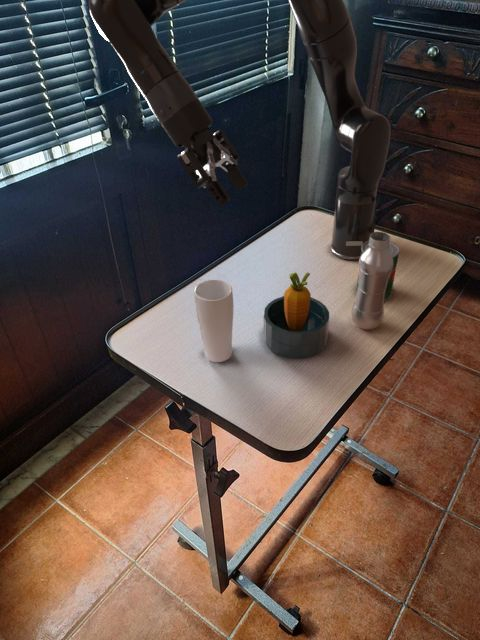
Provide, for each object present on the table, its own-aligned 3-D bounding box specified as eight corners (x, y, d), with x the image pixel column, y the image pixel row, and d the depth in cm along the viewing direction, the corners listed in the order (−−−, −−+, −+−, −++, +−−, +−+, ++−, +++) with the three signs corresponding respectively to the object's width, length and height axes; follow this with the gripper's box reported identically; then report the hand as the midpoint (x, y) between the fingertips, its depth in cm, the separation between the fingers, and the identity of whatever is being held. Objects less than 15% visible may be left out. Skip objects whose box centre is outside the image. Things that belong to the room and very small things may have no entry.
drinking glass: (204, 369, 96) (197, 303, 87) (197, 346, 101) (190, 282, 92) (239, 362, 98) (236, 297, 88) (231, 340, 103) (227, 276, 93)
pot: (302, 311, 110) (304, 288, 106) (339, 344, 102) (342, 319, 98) (252, 331, 105) (251, 307, 101) (286, 366, 97) (287, 342, 93)
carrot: (308, 329, 105) (312, 265, 95) (307, 345, 101) (311, 280, 91) (283, 328, 105) (285, 264, 95) (282, 343, 101) (283, 279, 92)
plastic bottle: (371, 311, 110) (385, 225, 97) (388, 329, 105) (405, 241, 92) (344, 317, 108) (355, 231, 95) (360, 336, 103) (374, 248, 90)
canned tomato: (398, 296, 114) (407, 252, 107) (369, 305, 111) (376, 261, 104) (376, 278, 120) (384, 236, 112) (348, 287, 117) (354, 244, 110)
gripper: (174, 105, 78) (235, 198, 83) (212, 89, 89) (264, 172, 94) (142, 133, 82) (202, 219, 87) (183, 114, 93) (234, 192, 98)
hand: (234, 195), depth 91 cm, fingers open, 8 cm apart
